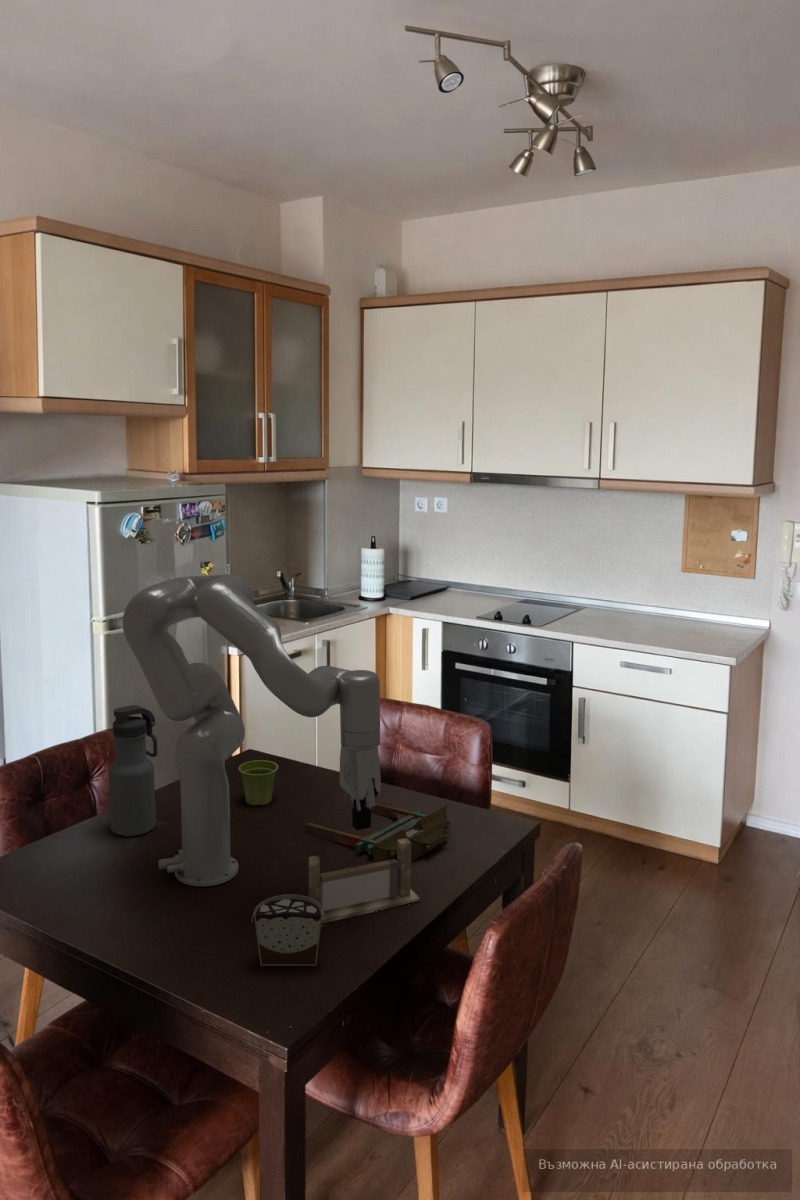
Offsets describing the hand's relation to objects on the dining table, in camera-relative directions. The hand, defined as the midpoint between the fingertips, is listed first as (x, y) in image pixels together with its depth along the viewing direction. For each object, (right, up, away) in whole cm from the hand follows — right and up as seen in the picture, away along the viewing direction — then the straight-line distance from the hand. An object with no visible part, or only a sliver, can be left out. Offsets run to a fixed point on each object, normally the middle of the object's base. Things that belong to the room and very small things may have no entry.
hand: (361, 827), depth 177 cm
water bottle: (-52, -8, +29) cm, 60 cm away
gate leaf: (0, -13, -3) cm, 14 cm away
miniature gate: (+4, -9, +28) cm, 30 cm away
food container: (-12, -18, -19) cm, 28 cm away
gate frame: (-1, -15, -3) cm, 15 cm away
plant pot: (-27, -5, +45) cm, 53 cm away
